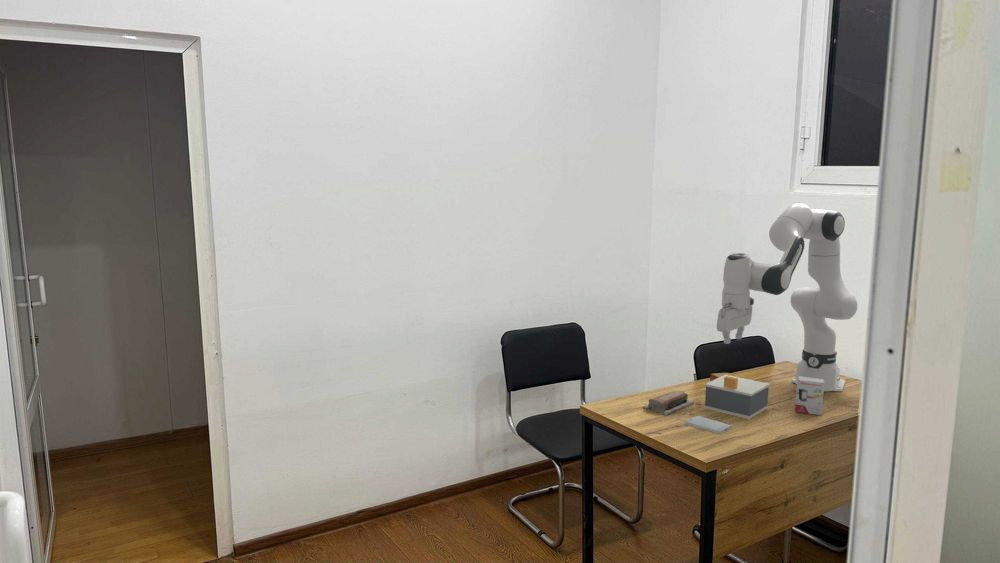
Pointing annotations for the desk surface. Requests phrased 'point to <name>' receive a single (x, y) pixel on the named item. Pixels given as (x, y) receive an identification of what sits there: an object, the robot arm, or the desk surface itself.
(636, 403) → the desk surface
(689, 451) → the desk surface
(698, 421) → the hard drive
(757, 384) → the lid flap
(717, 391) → the charcoal box
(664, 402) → the packaged product
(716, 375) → the carton
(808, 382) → the ink box
